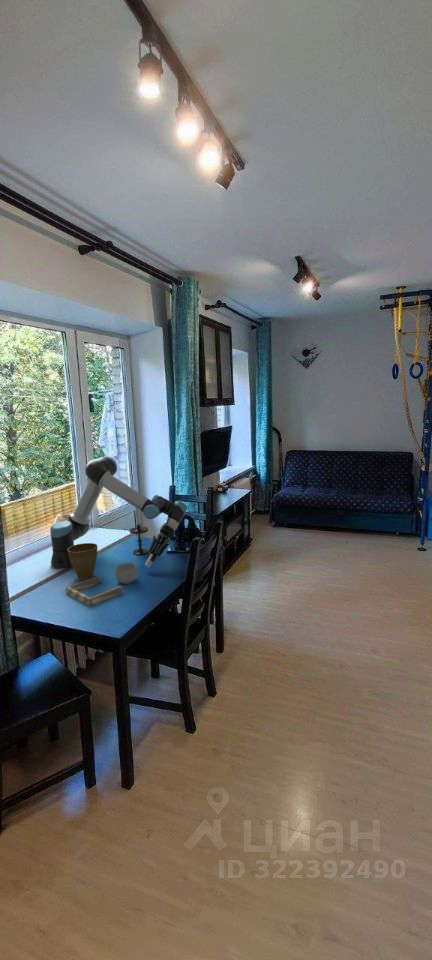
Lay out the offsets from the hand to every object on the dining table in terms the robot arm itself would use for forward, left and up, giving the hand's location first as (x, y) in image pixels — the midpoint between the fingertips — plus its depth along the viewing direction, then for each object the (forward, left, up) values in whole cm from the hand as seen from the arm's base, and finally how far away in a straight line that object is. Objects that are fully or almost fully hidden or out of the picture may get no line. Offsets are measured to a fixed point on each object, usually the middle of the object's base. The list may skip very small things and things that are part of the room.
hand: (146, 566), depth 235 cm
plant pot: (-22, -23, -4) cm, 32 cm away
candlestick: (-28, +17, -4) cm, 33 cm away
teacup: (0, -12, -4) cm, 13 cm away
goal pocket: (0, -31, -4) cm, 31 cm away
